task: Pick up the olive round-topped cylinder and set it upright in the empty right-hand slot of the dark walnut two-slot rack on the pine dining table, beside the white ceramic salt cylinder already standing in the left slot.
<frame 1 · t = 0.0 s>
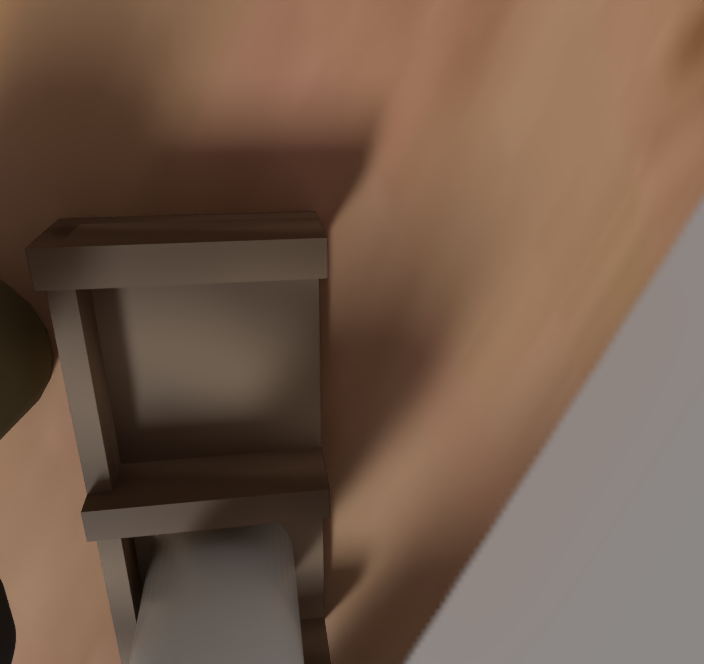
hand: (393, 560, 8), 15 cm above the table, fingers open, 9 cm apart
walnut slot rack: (214, 457, 24), on the table
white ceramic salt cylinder: (222, 560, 25), point 1 cm above the table, touching walnut slot rack
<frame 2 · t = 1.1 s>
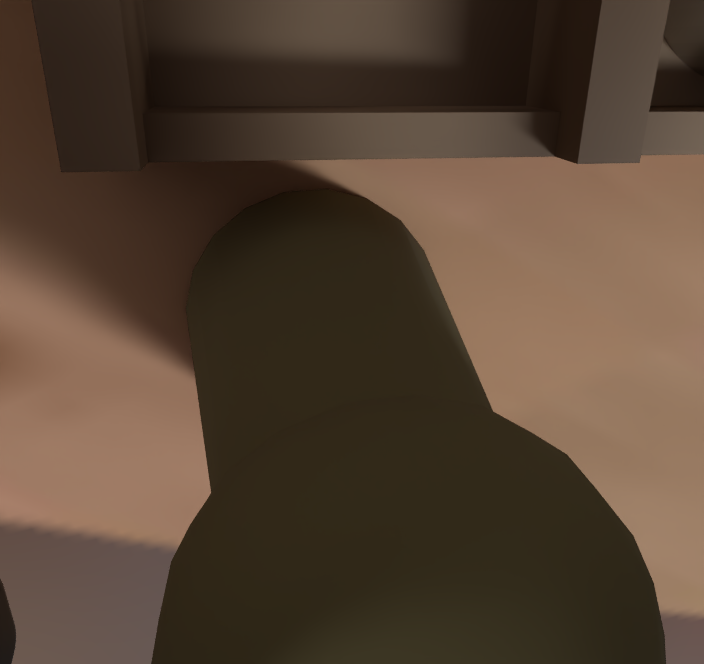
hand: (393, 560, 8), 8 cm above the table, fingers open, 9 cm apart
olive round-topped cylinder: (314, 311, 15), on the table
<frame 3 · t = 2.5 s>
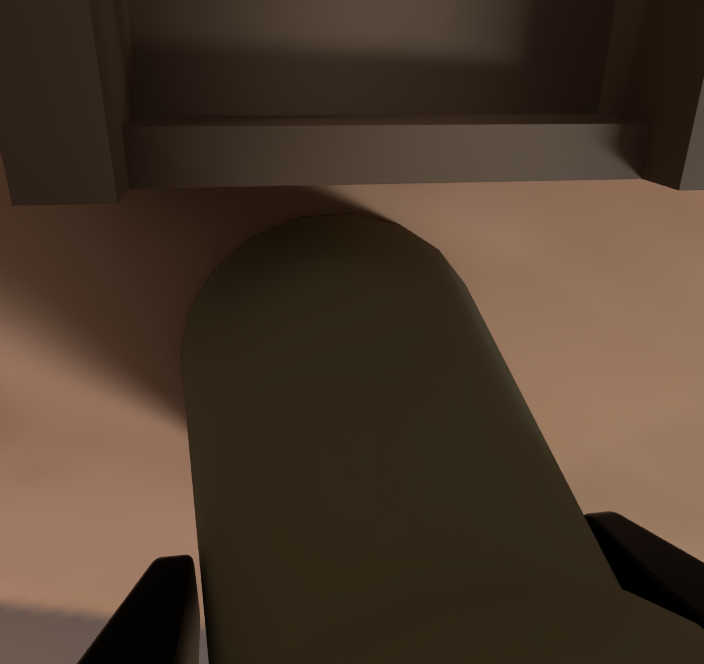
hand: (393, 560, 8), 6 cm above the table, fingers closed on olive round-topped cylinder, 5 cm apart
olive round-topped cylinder: (333, 356, 13), on the table, touching gripper
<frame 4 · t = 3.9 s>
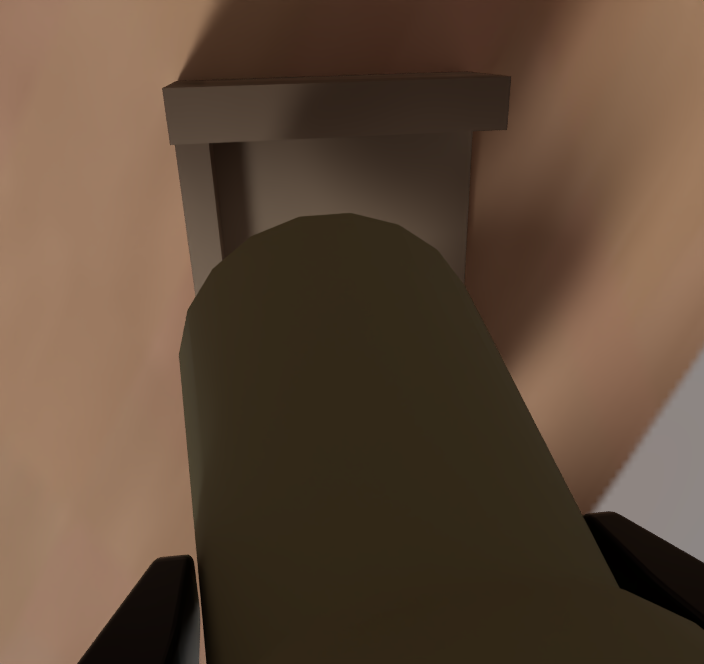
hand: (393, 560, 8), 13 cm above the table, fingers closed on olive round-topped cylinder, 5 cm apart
walnut slot rack: (337, 374, 21), on the table
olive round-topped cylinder: (332, 356, 13), point 7 cm above the table, touching gripper
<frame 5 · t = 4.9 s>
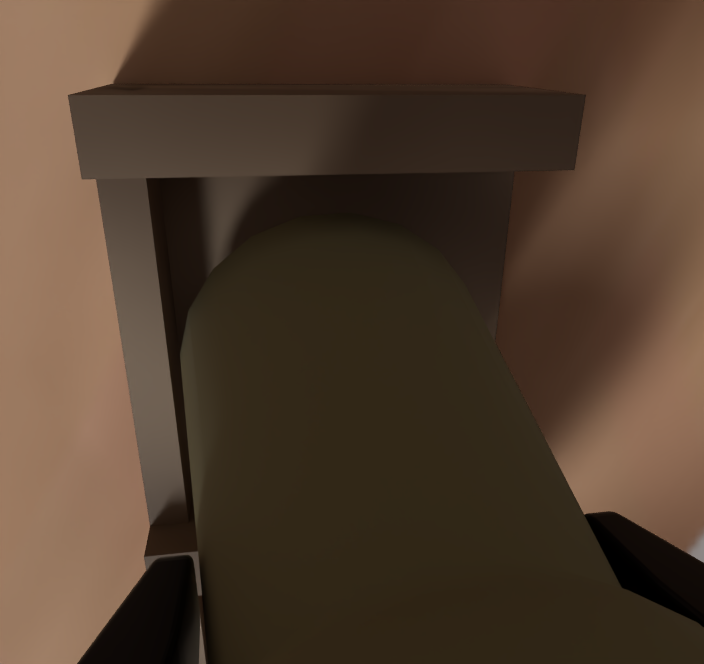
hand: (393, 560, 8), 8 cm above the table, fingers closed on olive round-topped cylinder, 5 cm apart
walnut slot rack: (323, 466, 16), on the table
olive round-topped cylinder: (333, 356, 13), point 2 cm above the table, touching gripper
when the fingers open (7 cm above the table, at t = 5.7 s): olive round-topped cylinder drops 1 cm, resting on walnut slot rack.
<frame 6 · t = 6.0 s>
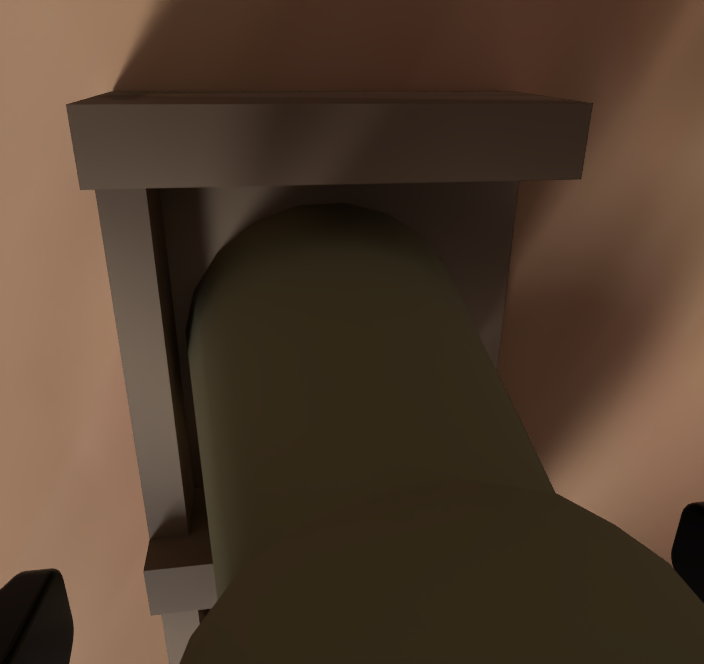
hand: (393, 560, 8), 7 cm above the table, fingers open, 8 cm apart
walnut slot rack: (325, 476, 16), on the table
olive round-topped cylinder: (326, 335, 14), point 1 cm above the table, touching walnut slot rack
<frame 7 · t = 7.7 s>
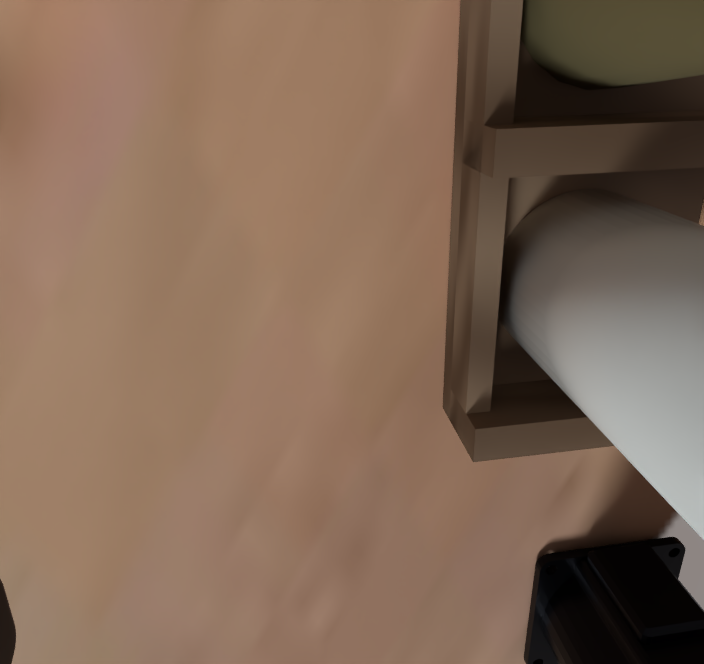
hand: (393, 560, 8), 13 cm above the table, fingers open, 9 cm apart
walnut slot rack: (580, 132, 19), on the table
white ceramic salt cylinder: (575, 275, 20), point 1 cm above the table, touching walnut slot rack
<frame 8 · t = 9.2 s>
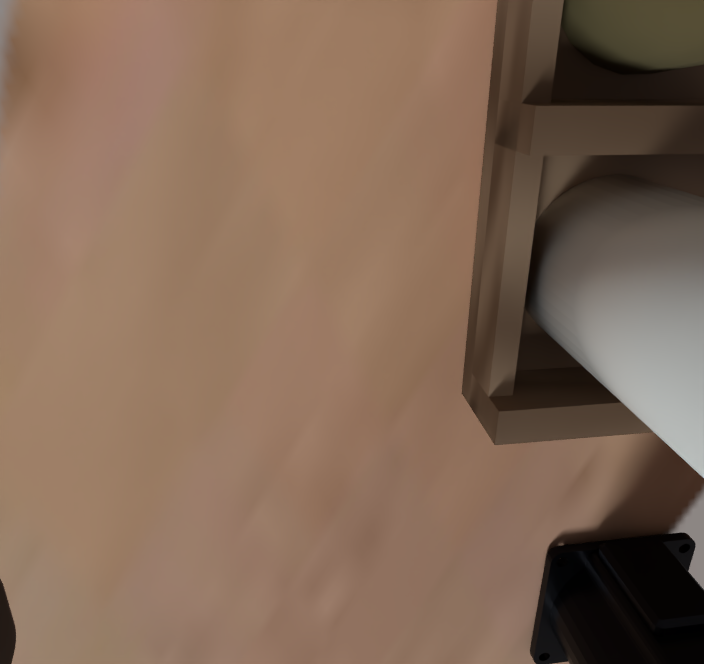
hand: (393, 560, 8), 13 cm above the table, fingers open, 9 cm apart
walnut slot rack: (611, 118, 19), on the table
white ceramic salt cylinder: (601, 262, 20), point 1 cm above the table, touching walnut slot rack
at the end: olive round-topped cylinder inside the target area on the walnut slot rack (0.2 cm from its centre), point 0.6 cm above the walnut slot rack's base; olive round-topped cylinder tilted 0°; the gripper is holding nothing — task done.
